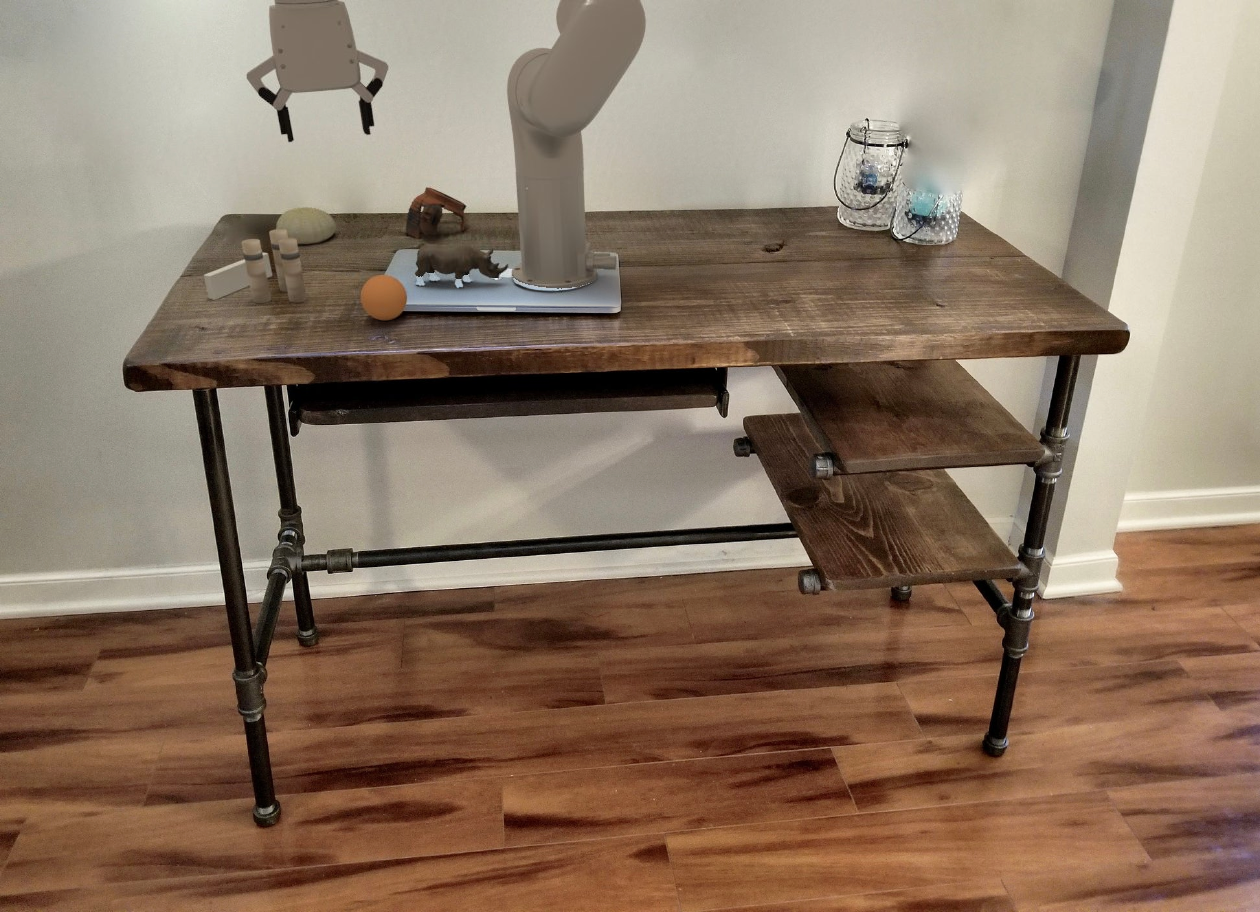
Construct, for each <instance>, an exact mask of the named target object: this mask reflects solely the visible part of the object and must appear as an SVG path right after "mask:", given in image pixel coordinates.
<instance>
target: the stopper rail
mask: <svg viewBox="0 0 1260 912" xmlns="http://www.w3.org/2000/svg"><path fill="white" fill-rule="evenodd" d="M262 253H263V260H264V266H265V271H266V276H267V279H268V278H271V277H273V271H272V267H271V262H270V257H269V253H267V252H263V251H262ZM203 278H204V279H203V280H204V282H205V283H204V284H205V288H206V292H207V296H208V299H210V300H213V301H216V300H218V299H220V298H224V297H225V296H228V295H230V294H232V293H235V292H238V291H240V290H242V289H245V288H247V287H250V283H249V278H248V273H247V268H246V263H245V259H244V258H243V259H241V260H239V261H236V262H234V263H231V264H229V265H226V266H223V267H221V268H219V269H216V270H212V271H211V272H208V273H205V274H203Z"/></svg>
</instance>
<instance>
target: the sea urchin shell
mask: <svg viewBox="0 0 1260 912" xmlns="http://www.w3.org/2000/svg"><path fill="white" fill-rule="evenodd" d="M275 229H285V230H287V234H288V238H294V239H296V240H297V245H311V244H318V243H321V242H323V241H327V240H328V239H330V238H331V237H332V236H333V234H334V233H335V231H336V229H337V225H336V222H335V220H334V219H333V217H332V215H330V214H329V213H328V212H325V210H322V209H319V208H316V207H315V208H314V207H307V206H305V207H295V208H292V209H289V210H287V211H285V212H283V213H282V214H281V216H279V218H278V219H277V221H276V228H275Z"/></svg>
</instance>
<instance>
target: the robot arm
mask: <svg viewBox="0 0 1260 912" xmlns="http://www.w3.org/2000/svg"><path fill="white" fill-rule="evenodd" d="M273 1H274V4H273V5H272V4H271V5H270V6H269V8H268V9H269V10H268V12H269V13H268V18H269V32H270V33H269V34H270V43H271V50H272V56H269V58H268V59H266V60H264V61H263V62H261V63H259V64H258V65H257V66H255V67H253V68H252V69H251V70H249V71H248V72H247V73H246V79H247V81H248V82H249V84H250V85H251V86H252V88H253V89H254V91H255V92H256V93H257V94H258V96H259V97H260V98H261V99H263V100H264V101H265V102H267V103H268V104H269V105H271V106H272V107H273V108H274V110H276V115H277V119H278V124H279V130H280V134H281V136H282V135H286V136H287V137H286V138H287V142H288V143H293V142H294V140H295V139H294V134H293V128H292V122H291V116H290V113H289V107H288V106H287V104H286V103H287V101H288V100H289V98H290V97H291V95H292V94H298V93H302V94H303V93H312V92H315V93H316V92H324V91H325V92H326V91H336V90H347V89H352V90H353V91H354V92H355V93H356V94H357V95H358V96H359V100H358V106H359V113H360V119H361V127H362V131H363V133H364V135H366V136H370V135H372V133H371V129H370V128H371V127H375V119H374V113H373V105H372V102H373V100H374V98H375V96H376V95H377V94H378V92H379V91H380V90H381V89H382V87H383V86H384V81H385V79H386V76H387V74H388V71H389V65H388V63H387V62H386V61H385V60H381V59H379V58H377V57H375V56H372V55H370V54H368V53H366V52H363V51H361V50H359V49H357V45H356V40H355V36H354V30H353V28H352V24H351V19H350V16H349V12H348V9H347V6H346V3H345V2H344V1H339V0H273ZM555 15H556V16H555V17H556V18H555V19H556V20H555V21H556V27H557V29H558V32H559V34H560V35H559V36H558V38H557V39H556V40H555V42H554V44H553V45H552V47H551V48H547V47H538V48H537V47H536V48H533V49H530V50H528V51H527V50H526V52H524V53H522V54H521V55H520V56H519V57H517V59H516V60H515V62H514V63H513V65H512V66H511V69H510V71H509V74H508V77H507V85H506V86H507V87H506V93H507V105H508V111H509V118H510V125H511V130H512V132H511V133H512V141H513V150H514V152H513V153H514V163H515V164H514V165H515V166H514V168H515V184H516V196H517V197H516V198H517V201H516V202H517V215H518V217H517V218H518V229H519V245H520V247H519V248H520V260H521V262H519V263H518V264H517V265H515V266H514V267H513V268H512V270H511V277H512V276H513V278H515V279H516V280H518V281H519V282H522V283H525V284H528V285H534V286H538V287H546V288H557V289H559V288H561V289H562V288H572V287H580V286H582V285H586V284H588V283H590V284H592V283H593V282H595V280H597V278H598V274H599V273H598V269H601V270H602V269H603V270H609V271H610V270H612V271H613V270H614V271H615V270H617V256H616V255H614V256H613V255H611V252H595V250H591V242H587V237H586V236H587V235H586V231H587V230H586V207H585V204H586V203H585V178H584V177H585V176H584V175H585V174H584V172H585V167H584V166H585V165H584V146H583V144H584V143H583V136H582V131H583V130H585V129H586V128H587V127H588V126H589V125H590V124H591V122H593V120H594V119H595V118H596V116H597V115H598V114H599V112H600V111H601V110H602V108H603V107H604V105H605V104H606V102H607V100H608V99H609V98H610V96H611V95H612V93H613V91H615V88H616V87H617V86H618V84H619V82H620V81H621V80H622V78H623V76H624V75H625V74H626V72H627V70H628V69H629V67H630V66H631V64H632V63H633V61H634V60H635V58H636V56H637V55H638V53H639V51H640V48H641V46H642V43H643V42H644V41H643V40H644V37H645V33H646V25H647V19H646V13H645V9H644V7H643V3H642V2H641V0H559V3H558V7H557V9H556V14H555ZM360 64H362V65H365V66H367V67H369V68H372V69H373V70H374V75H373V78H372V79H371V80H370V82H369V83H368V84H367V85H365V84H363V83H362V82H361V80H362V79H361V78H362V77H361V67H360V66H361V65H360ZM274 70H275V74H276V78H277V81H278V84H279V89H278V91H277V92H276V93H274V92H273V91H272V90H270V89H269V88H268V86H267V87H266V85H265V83H264V82H263V81H262V79H263V77H265V76H266V75H267V74H270V73H271V72H273V71H274ZM591 282H592V283H591ZM588 285H589V284H588ZM586 286H587V285H586ZM580 288H581V287H580Z"/></svg>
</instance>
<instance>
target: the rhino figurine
mask: <svg viewBox="0 0 1260 912" xmlns="http://www.w3.org/2000/svg"><path fill="white" fill-rule="evenodd" d="M492 254H494V247H492V248H490V250H489V251H487V252H485V251H483V250H480V249H478V248H477V247H475V246H472V245H468V244H461V245H457V246H444V245H441V244H424V245H422V246H420V248H419V249H418V250H417V254H416V255H417V257H416V262H415V265H416V267H417V270H415V273H414V275H416V276H418V277H420V276H421V277H422V276H423V277H424V276H425V275H426V274H427V273H434V272H435V273H436V272H438V273H439V274H441V275H451V274H452V275H453V274H454V278H456V279H462V280H463V276H464V275H468V274H469V275H470V272H471V271H472V270H478V271H479V274H481V275H483V276H485V277H487V278H490V279H491V278H498V279H499V278H500V275H501V274H503V273H504V272H506V271H507V270H508V268H509V263H508V264H505V266H503V267H499V265H500V262H497V263H494V262H492V260H491V259H492V256H491V255H492ZM426 272H427V273H426ZM416 276H415V277H416ZM456 279H455V280H456Z"/></svg>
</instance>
